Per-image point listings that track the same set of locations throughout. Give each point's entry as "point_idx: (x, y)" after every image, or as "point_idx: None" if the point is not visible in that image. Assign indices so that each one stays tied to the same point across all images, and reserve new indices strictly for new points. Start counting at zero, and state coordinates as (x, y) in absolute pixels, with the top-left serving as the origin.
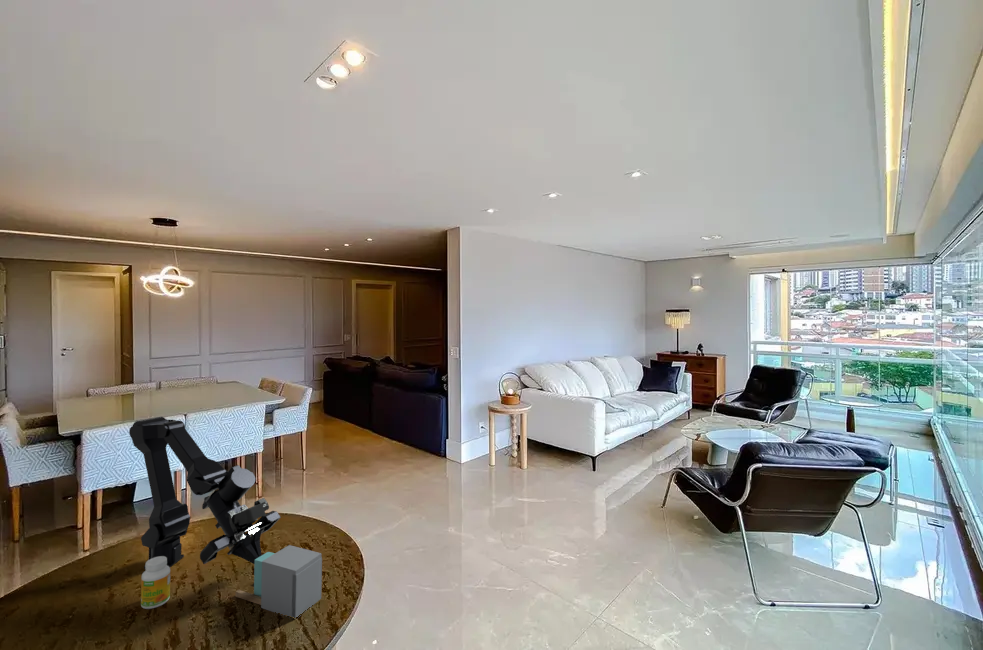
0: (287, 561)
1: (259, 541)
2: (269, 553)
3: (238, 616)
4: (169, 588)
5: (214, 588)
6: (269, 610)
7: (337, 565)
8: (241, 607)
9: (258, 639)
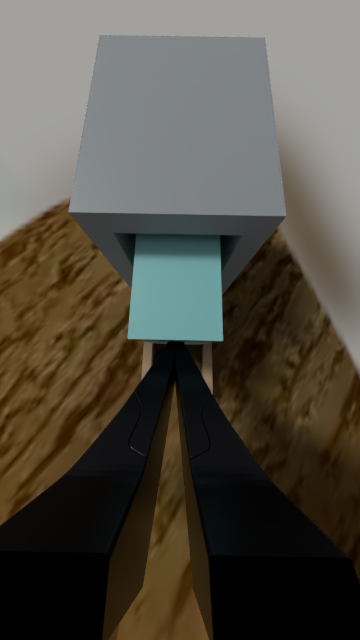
0: (222, 106)
1: (100, 441)
2: (142, 317)
3: (255, 323)
4: None
5: None
6: None
7: (30, 262)
8: (232, 343)
9: (280, 239)
